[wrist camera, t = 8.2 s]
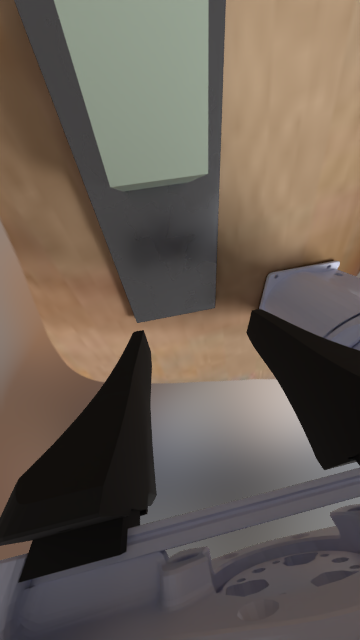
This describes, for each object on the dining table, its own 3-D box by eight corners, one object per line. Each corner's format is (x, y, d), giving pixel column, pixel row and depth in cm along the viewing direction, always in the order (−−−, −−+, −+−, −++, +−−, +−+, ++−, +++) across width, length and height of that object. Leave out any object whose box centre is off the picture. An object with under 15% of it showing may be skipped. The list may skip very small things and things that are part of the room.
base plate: (218, -18, 8) (266, -166, 5) (211, 303, 21) (224, 322, 17) (19, -4, 7) (-80, -161, 4) (137, 317, 20) (135, 340, 17)
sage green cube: (181, 64, 9) (208, -48, 5) (188, 182, 12) (208, 173, 8) (91, 72, 8) (42, -38, 4) (122, 191, 11) (110, 187, 8)
